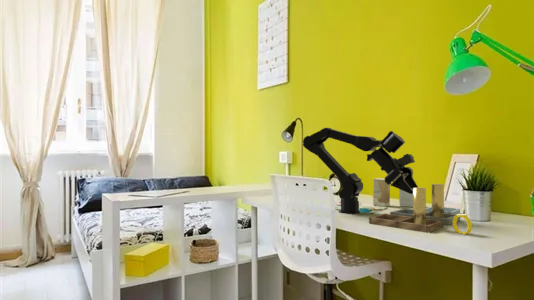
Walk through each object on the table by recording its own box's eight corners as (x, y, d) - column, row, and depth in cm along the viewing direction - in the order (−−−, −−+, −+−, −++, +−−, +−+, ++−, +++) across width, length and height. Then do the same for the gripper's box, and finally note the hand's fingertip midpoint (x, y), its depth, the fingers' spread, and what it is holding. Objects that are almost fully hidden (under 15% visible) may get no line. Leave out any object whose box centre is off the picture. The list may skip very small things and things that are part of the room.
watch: (451, 232, 117) (449, 213, 118) (457, 232, 118) (456, 213, 119) (467, 235, 112) (466, 215, 112) (474, 234, 113) (472, 214, 113)
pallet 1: (369, 223, 132) (369, 217, 132) (385, 218, 139) (384, 213, 139) (429, 232, 117) (429, 226, 117) (443, 227, 124) (443, 221, 124)
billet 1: (411, 227, 124) (410, 188, 124) (416, 225, 127) (416, 187, 127) (423, 229, 122) (422, 189, 121) (428, 227, 124) (427, 188, 124)
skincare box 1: (372, 205, 171) (372, 178, 171) (377, 204, 174) (377, 177, 174) (385, 207, 166) (385, 179, 166) (390, 205, 169) (390, 178, 169)
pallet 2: (390, 217, 142) (390, 212, 142) (404, 213, 150) (403, 208, 150) (448, 225, 127) (448, 219, 127) (460, 220, 135) (460, 214, 135)
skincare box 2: (415, 205, 168) (414, 178, 168) (413, 207, 164) (413, 179, 164) (400, 205, 171) (400, 178, 171) (398, 206, 167) (398, 179, 167)
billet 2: (429, 220, 136) (429, 184, 136) (438, 219, 137) (437, 183, 137) (437, 222, 132) (437, 185, 132) (446, 221, 134) (446, 184, 133)
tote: (421, 214, 147) (421, 209, 147) (433, 210, 155) (433, 206, 155) (451, 218, 139) (451, 212, 139) (461, 214, 147) (461, 208, 147)
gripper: (393, 146, 134) (426, 179, 128) (407, 146, 150) (437, 175, 143) (371, 168, 139) (402, 200, 133) (387, 165, 154) (415, 194, 148)
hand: (415, 191), depth 139 cm, fingers open, 9 cm apart
